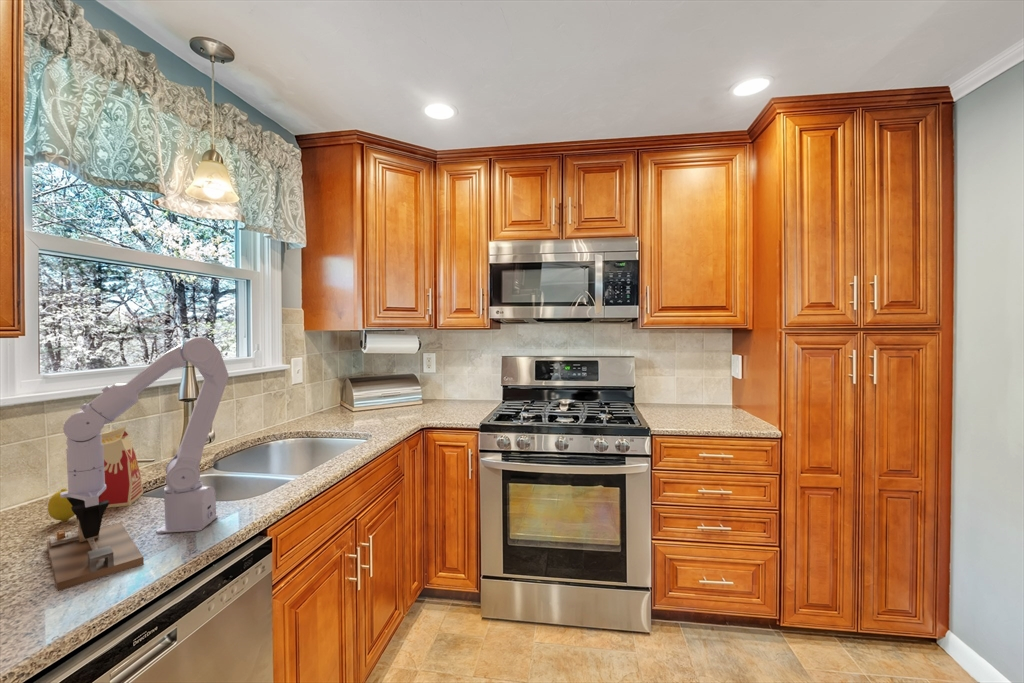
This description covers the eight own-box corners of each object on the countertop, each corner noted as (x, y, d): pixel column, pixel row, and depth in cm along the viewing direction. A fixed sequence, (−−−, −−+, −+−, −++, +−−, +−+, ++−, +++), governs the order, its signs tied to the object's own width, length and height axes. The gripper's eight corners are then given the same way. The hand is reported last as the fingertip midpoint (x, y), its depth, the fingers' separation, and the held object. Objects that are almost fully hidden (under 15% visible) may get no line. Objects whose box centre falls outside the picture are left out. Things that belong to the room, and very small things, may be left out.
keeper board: (47, 548, 97) (46, 528, 96) (121, 528, 105) (120, 511, 105) (57, 591, 81) (56, 568, 80) (143, 564, 90) (142, 543, 89)
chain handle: (49, 540, 96) (48, 515, 96) (95, 528, 102) (94, 505, 101) (57, 570, 84) (56, 542, 84) (108, 555, 90) (107, 529, 89)
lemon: (60, 527, 106) (59, 493, 106) (42, 525, 108) (40, 492, 107) (87, 517, 112) (85, 485, 112) (69, 516, 113) (67, 484, 113)
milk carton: (143, 493, 128) (140, 422, 127) (131, 505, 120) (128, 429, 119) (101, 498, 124) (98, 425, 124) (86, 511, 116) (82, 432, 115)
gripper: (56, 465, 98) (59, 527, 99) (63, 480, 89) (66, 549, 89) (100, 458, 104) (102, 517, 104) (111, 471, 94) (113, 536, 95)
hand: (88, 531), depth 97 cm, fingers open, 7 cm apart
